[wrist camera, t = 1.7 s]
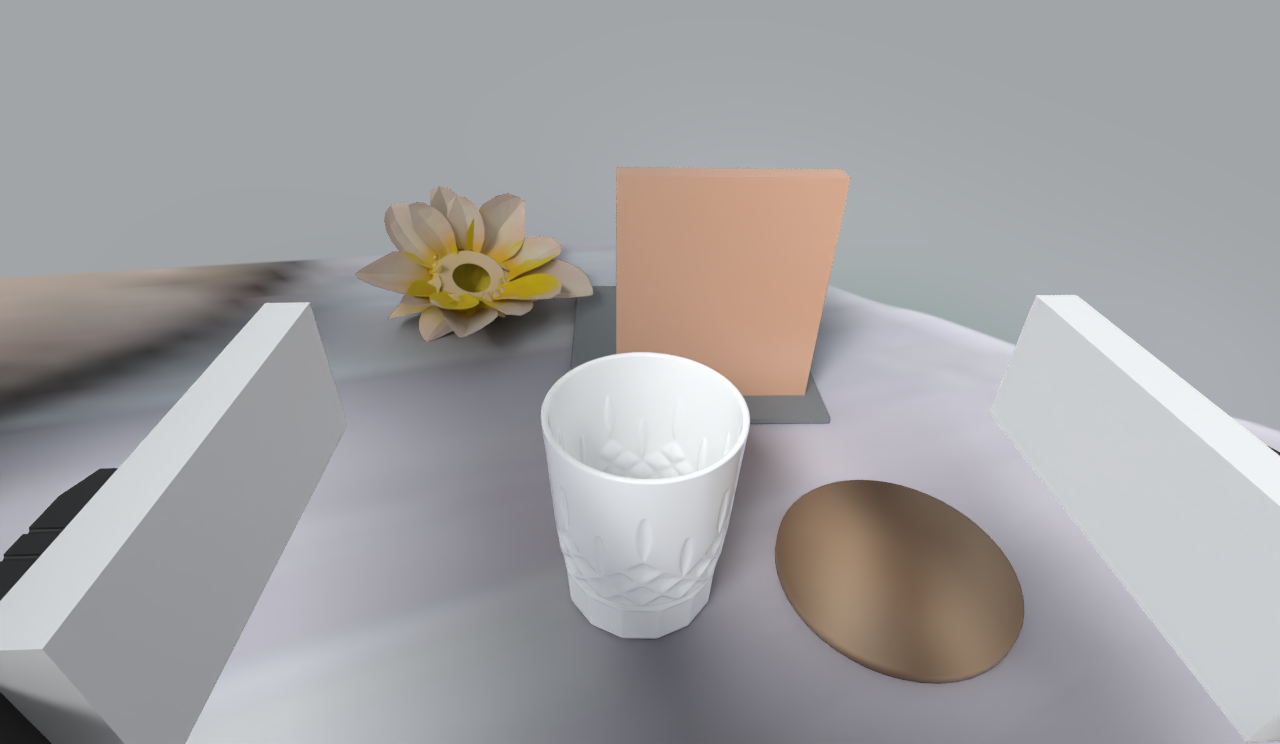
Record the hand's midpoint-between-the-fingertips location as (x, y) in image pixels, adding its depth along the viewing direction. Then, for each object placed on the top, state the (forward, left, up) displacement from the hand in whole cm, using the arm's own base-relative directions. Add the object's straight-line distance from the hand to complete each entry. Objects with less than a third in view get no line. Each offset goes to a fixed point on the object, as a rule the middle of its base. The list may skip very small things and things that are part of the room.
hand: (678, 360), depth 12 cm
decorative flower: (-11, +33, -19) cm, 39 cm away
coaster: (+12, +9, -18) cm, 24 cm away
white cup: (0, +9, -19) cm, 21 cm away
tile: (+5, +23, -18) cm, 30 cm away
